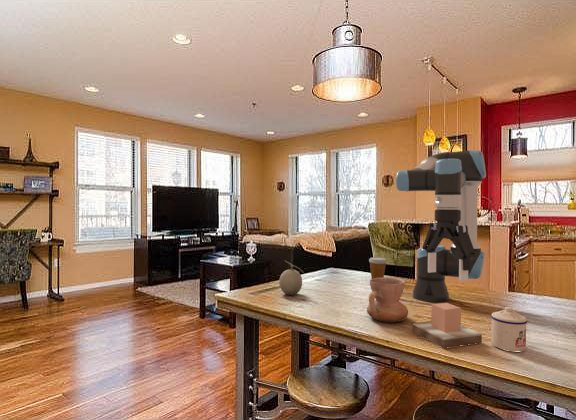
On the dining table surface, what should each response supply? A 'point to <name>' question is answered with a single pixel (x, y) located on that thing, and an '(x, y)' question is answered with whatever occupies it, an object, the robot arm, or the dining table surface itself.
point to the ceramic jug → (386, 300)
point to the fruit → (290, 281)
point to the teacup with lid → (508, 330)
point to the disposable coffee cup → (377, 267)
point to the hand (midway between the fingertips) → (446, 276)
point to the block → (446, 317)
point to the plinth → (447, 335)
